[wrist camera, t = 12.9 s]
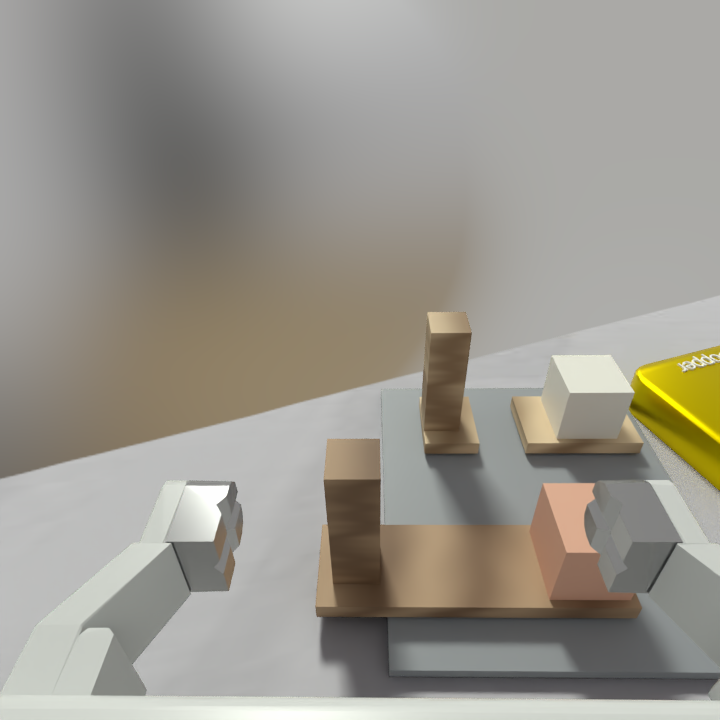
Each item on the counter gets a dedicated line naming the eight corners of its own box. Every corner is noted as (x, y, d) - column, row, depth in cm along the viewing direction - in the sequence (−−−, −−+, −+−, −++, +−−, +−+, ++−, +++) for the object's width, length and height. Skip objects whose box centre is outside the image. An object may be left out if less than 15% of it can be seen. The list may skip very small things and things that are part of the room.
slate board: (389, 676, 31) (389, 670, 30) (381, 395, 52) (381, 388, 51) (781, 679, 30) (788, 673, 30) (613, 394, 51) (615, 387, 51)
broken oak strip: (424, 453, 44) (433, 344, 37) (419, 406, 49) (425, 302, 42) (639, 453, 44) (686, 343, 37) (612, 405, 48) (649, 300, 42)
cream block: (556, 438, 43) (569, 392, 40) (540, 399, 47) (551, 355, 44) (617, 438, 43) (634, 392, 40) (596, 399, 47) (610, 355, 44)
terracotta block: (549, 599, 32) (566, 552, 29) (529, 530, 36) (542, 483, 33) (630, 600, 32) (656, 552, 29) (601, 531, 36) (621, 483, 33)
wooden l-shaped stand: (316, 616, 33) (301, 502, 26) (323, 534, 38) (312, 421, 31) (636, 618, 32) (703, 502, 26) (601, 535, 37) (650, 419, 31)
